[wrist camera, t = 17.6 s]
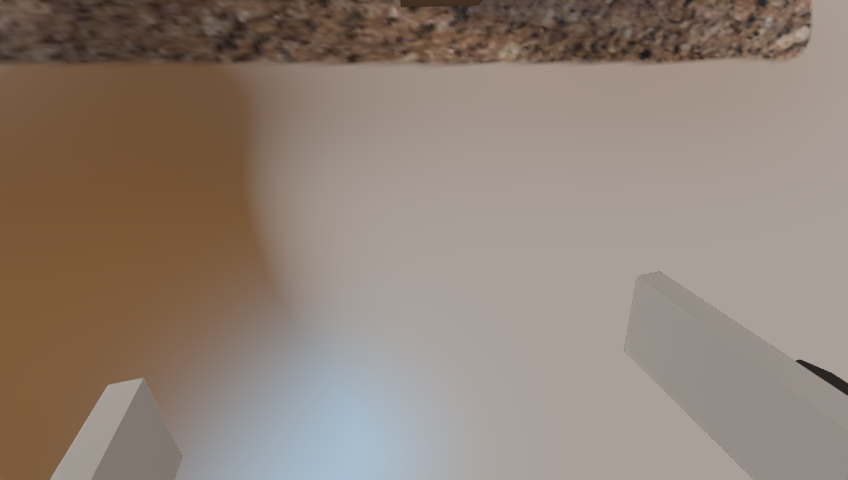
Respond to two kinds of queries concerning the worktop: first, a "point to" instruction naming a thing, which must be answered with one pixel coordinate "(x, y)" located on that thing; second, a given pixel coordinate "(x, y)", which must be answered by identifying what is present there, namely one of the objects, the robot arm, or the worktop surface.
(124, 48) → the worktop surface
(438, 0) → the walnut block
